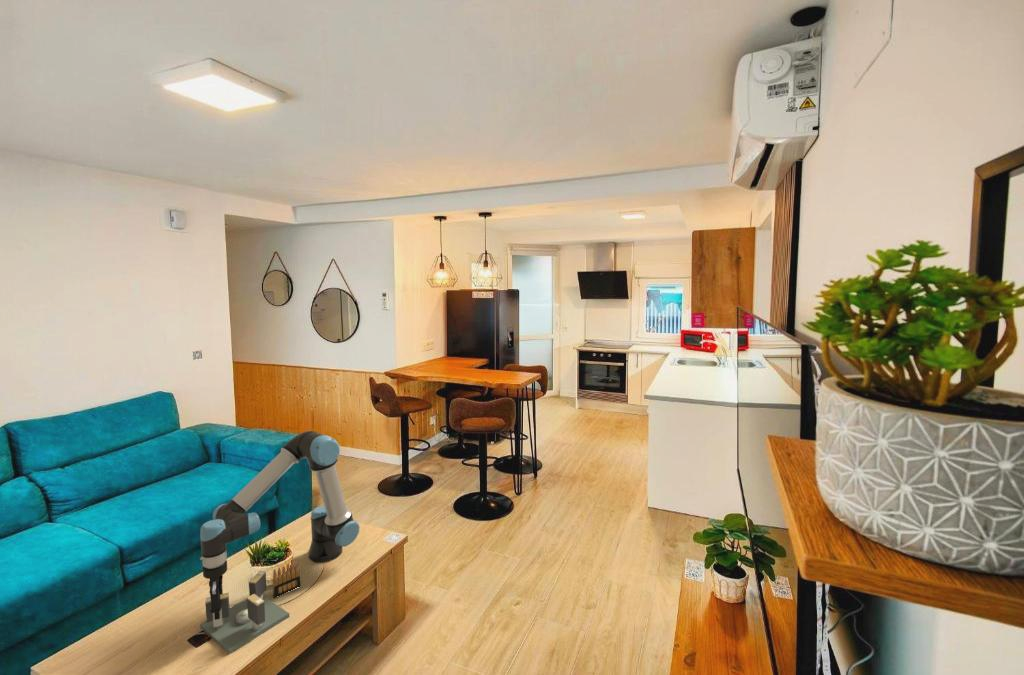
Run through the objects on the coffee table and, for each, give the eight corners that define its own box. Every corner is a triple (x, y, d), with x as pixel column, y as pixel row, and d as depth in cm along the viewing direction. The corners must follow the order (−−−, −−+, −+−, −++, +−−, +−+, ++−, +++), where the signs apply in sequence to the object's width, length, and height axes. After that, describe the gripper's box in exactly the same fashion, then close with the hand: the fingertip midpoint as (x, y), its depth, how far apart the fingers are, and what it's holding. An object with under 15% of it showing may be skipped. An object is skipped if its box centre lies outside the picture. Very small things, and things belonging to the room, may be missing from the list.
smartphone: (185, 640, 167) (228, 614, 180) (186, 641, 167) (228, 615, 180) (196, 647, 163) (239, 621, 176) (196, 649, 163) (239, 622, 176)
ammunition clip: (274, 598, 189) (272, 571, 188) (272, 596, 191) (271, 569, 189) (301, 586, 197) (299, 560, 195) (299, 584, 198) (298, 558, 197)
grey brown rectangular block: (257, 609, 181) (255, 581, 179) (249, 609, 181) (248, 581, 179) (267, 597, 187) (266, 570, 186) (260, 597, 188) (259, 570, 186)
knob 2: (248, 626, 172) (246, 597, 170) (256, 621, 174) (254, 592, 173) (258, 634, 168) (256, 604, 167) (266, 629, 170) (264, 600, 169)
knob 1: (230, 620, 175) (228, 591, 173) (229, 625, 172) (227, 596, 171) (208, 626, 172) (206, 597, 170) (207, 631, 169) (205, 602, 168)
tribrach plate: (259, 595, 191) (258, 586, 190) (289, 616, 179) (288, 607, 178) (200, 628, 173) (199, 617, 172) (229, 654, 161) (228, 643, 160)
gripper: (205, 554, 174) (209, 611, 177) (199, 578, 160) (203, 640, 163) (228, 549, 178) (232, 605, 180) (224, 572, 164) (228, 633, 166)
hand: (218, 622), depth 172 cm, fingers closed on knob 1, 3 cm apart
